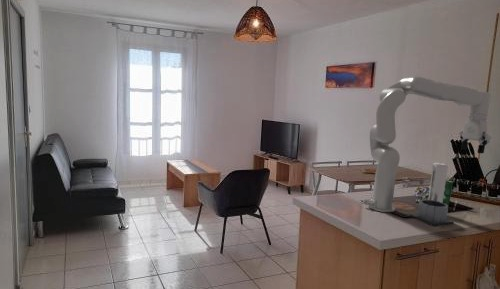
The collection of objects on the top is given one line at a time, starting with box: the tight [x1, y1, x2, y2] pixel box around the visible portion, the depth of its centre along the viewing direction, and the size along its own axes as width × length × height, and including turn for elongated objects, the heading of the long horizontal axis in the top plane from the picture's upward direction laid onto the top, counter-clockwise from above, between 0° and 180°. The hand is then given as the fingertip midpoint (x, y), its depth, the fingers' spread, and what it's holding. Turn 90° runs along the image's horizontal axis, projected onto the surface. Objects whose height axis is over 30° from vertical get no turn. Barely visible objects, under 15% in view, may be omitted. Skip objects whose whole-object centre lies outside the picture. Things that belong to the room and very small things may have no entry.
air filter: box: [428, 162, 449, 203], centre depth 179 cm, size 6×6×25 cm
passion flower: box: [413, 185, 430, 203], centre depth 196 cm, size 11×11×12 cm
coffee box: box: [443, 179, 454, 206], centre depth 198 cm, size 8×3×13 cm, turn 58°
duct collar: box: [409, 199, 455, 227], centre depth 168 cm, size 13×13×8 cm
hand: (472, 151), depth 179 cm, fingers open, 9 cm apart
